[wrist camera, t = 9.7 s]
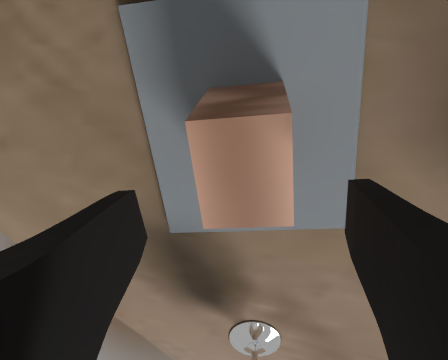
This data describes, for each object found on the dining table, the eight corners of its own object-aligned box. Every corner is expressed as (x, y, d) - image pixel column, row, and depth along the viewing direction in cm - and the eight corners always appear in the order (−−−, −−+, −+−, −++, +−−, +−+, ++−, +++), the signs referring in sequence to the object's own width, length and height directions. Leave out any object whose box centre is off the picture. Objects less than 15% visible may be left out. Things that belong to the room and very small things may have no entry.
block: (283, 81, 17) (292, 112, 12) (285, 167, 19) (294, 226, 14) (208, 88, 18) (184, 121, 12) (219, 170, 20) (203, 228, 15)
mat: (365, -29, 15) (370, -30, 14) (348, 220, 21) (350, 227, 21) (123, 6, 17) (117, 5, 16) (173, 226, 23) (170, 233, 22)
